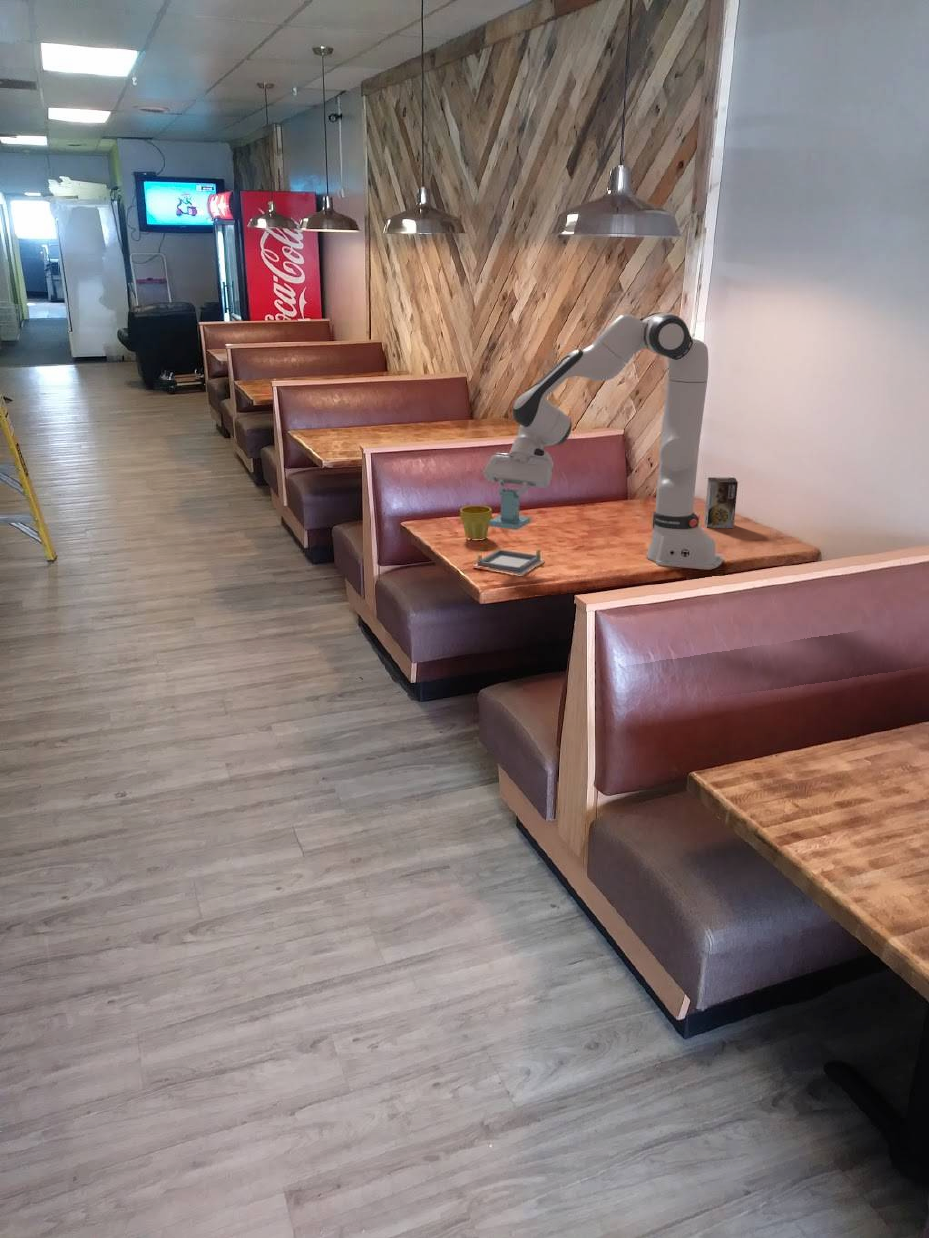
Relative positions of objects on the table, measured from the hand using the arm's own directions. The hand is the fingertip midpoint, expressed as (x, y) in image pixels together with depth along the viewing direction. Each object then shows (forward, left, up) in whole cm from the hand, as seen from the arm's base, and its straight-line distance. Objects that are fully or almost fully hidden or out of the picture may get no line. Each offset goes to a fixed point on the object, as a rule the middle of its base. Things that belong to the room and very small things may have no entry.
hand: (509, 495), depth 262 cm
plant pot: (+22, -21, -22) cm, 37 cm away
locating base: (0, -1, -21) cm, 21 cm away
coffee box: (-44, -73, -22) cm, 88 cm away
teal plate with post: (0, -1, -9) cm, 9 cm away
